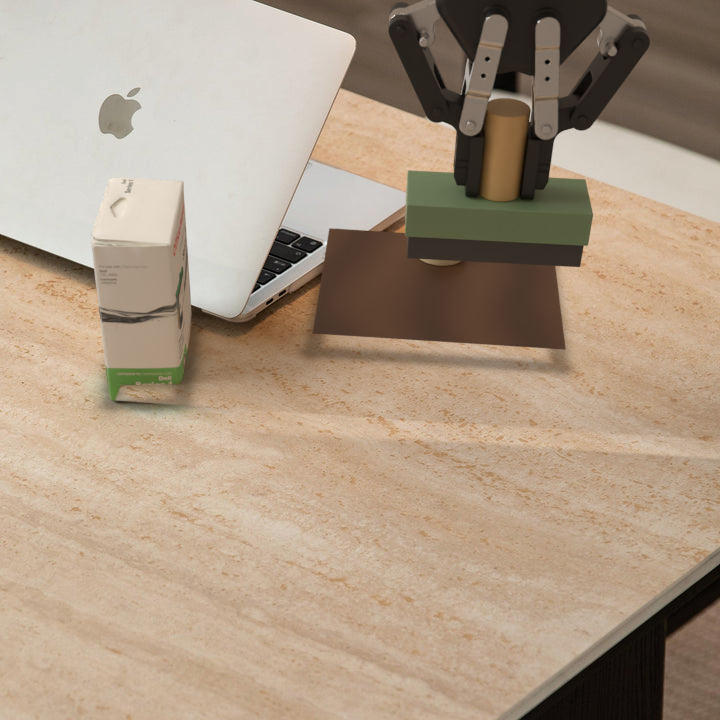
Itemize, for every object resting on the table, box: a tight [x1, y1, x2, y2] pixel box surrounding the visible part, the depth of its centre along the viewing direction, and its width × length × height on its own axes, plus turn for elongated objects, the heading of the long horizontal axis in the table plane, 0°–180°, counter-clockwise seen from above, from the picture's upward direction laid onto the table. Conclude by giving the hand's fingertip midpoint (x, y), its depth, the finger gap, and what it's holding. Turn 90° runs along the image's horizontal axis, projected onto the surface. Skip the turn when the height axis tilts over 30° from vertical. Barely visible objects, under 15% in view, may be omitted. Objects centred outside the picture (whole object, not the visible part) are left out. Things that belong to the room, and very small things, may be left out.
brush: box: [404, 97, 594, 268], centre depth 68 cm, size 10×4×8 cm, turn 88°
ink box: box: [90, 176, 193, 402], centre depth 79 cm, size 9×5×12 cm, turn 1°
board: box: [312, 227, 566, 350], centre depth 89 cm, size 17×14×2 cm
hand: (499, 189), depth 68 cm, fingers closed on brush, 2 cm apart
